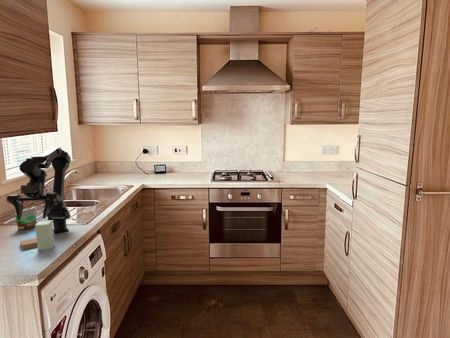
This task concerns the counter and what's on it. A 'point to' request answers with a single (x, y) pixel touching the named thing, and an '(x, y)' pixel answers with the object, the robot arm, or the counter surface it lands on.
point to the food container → (27, 218)
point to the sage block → (44, 235)
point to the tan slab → (28, 243)
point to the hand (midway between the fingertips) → (31, 219)
